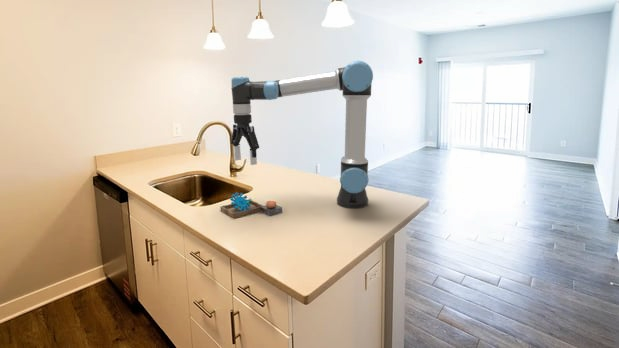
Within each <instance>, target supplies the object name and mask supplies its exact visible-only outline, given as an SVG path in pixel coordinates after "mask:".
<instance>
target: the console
mask: <svg viewBox="0 0 619 348" xmlns="http://www.w3.org/2000/svg"><path fill="white" fill-rule="evenodd" d="M260 208H261V212H260V213H262V214H263V215H266V216H268V217H272V216H274V215H275V216H276V215H278V214H282V213H283V207H282V206H280V205H278V204H276V207H273V208H271V209H270V208H269V207H266V205H263V206H262V207H260Z"/></svg>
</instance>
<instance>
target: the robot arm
mask: <svg viewBox="0 0 619 348" xmlns="http://www.w3.org/2000/svg"><path fill="white" fill-rule="evenodd" d="M373 79H374V73H373V70H372V68H371V66H370V65H369V64H368V63H367V62H366V61H362V60H354V61H351V62H349V63H348V64H347V65H346V66H344V67H339V68H338V67H337V68H336V70H335V71H334V70H333V71H328V72H322V73H316V74H310V75H304V76H297V77H291V78H284V79H278V80H272V81H271V80H267V81H266V80H265V81H263V80H262V81H251V80H250V77H248V76H234V77H232V78H231V95H232V96H231V98H232V112H233V114H234V115H233V122H234V124H232V133H231V139H230V144H231V145H232V146H233V152H234V161H241V160H242V155H241V144H240V142H241V140H242V137H244V138H245V140H246V141H247V145H248V146H249V159H250V161H249V162H250V166H254V165H258V161H257V160H258V159H257V156H258V155H257V150H258V149H260V145H259V141H258V138H257V134H256V132H255V127H254V125H251V126H250V124H251V123H252V114H251V113H252V105H251V101H253V100H254V101H257V100H258V101H261V100H262V101H264V100H265V101H266V100H268V101H271V100H277V99H278V98H285V97H290V96H297V95H305V94H311V93H317V92H318V93H319V92H322V91H323V92H325V91H330V90H337V91H338V90H339V91H342V97H343V98H344V100H345V124H344V125H345V126H344V127H345V131H344V156H342V157H341V160H340V177H339V184H340V189H339V191H338V193H337V194H338V195H337V198H336V204H337V205H338V206H340V207H343V208H348V209H360V208H365V207H367V206H368V205H369V197H368V194H367V190H366V188H367V186H368V183H369V174H368V173H369V171H368V169H369V160H368V159H367V158H366V139H367V138H366V137H367V136H366V135H367V134H366V133H367V111H368V110H367V108H368V100H369V98H371V96H372V83H373ZM366 205H367V206H366ZM364 206H365V207H364Z"/></svg>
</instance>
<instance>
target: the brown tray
mask: <svg viewBox="0 0 619 348" xmlns="http://www.w3.org/2000/svg"><path fill="white" fill-rule="evenodd" d="M249 204H251V206H250V207H249V206H248V205H247V206H248V207H249V208H250V209H249V210H247V209H246V210H245V211H243V210H244V208H242V211H241V212H240V211H239V208H240V207H237V209H235V208H234V206H236V205H231V203H230V204H226V205H222V206H220V207H219V209H220V212H221V213H223V214H225V215H227V216H228V217H230V218H232V219H233V220H235V219H240V218H243V217H247V216H251V215H255V214H258V213H262V212H261V208H260V207H262V206H264V205H263V204H260V203H258V202H256V201H254V200H253V199H251V201H250V202H249ZM245 208H246V207H245Z"/></svg>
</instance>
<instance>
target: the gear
mask: <svg viewBox="0 0 619 348" xmlns="http://www.w3.org/2000/svg"><path fill="white" fill-rule="evenodd" d="M234 193H235V194H234ZM234 193H233V194H231V198H230V199H229V200H230V201H231V202H230V204H231V205H236V206H234V208H235V209H237V207H240V208H239V211H240V212H241V211H242V208H244V210H243V211H245V210H246V209H247V210H249V209H250V208H249V207H250V206H251V204H249V202H250V201H251V200H252V198H248V196H247V195H244V194H243V193H242V192H240V193H239V192H234ZM243 195H244V196H243ZM247 198H248V199H247ZM247 205H248V206H249V207H248V206H247ZM245 207H246V208H245Z"/></svg>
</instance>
